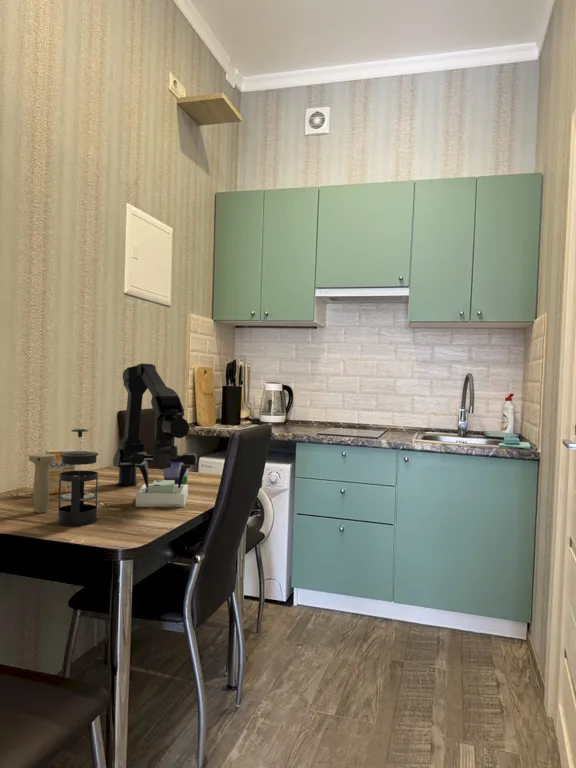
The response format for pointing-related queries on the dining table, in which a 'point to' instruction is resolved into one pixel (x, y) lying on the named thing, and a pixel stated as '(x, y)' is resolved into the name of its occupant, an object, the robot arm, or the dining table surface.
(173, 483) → the green box with knobs
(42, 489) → the handle
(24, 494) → the dining table surface
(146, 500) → the cabinet carcass
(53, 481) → the supplement box
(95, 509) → the french press
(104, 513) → the dining table surface
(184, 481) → the potion bottle
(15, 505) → the dining table surface
